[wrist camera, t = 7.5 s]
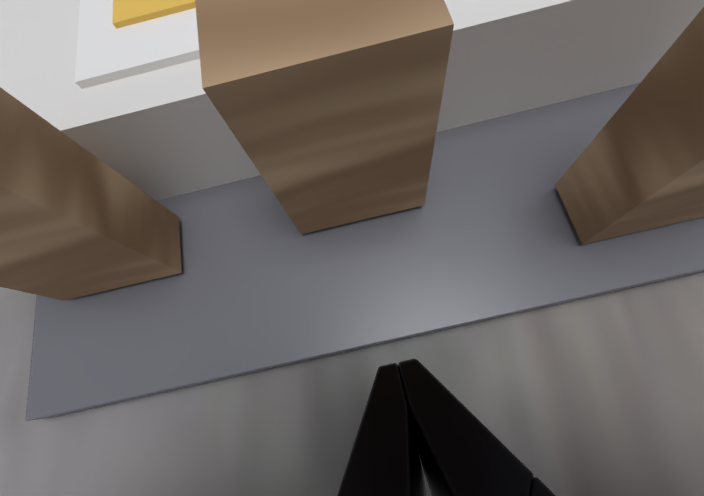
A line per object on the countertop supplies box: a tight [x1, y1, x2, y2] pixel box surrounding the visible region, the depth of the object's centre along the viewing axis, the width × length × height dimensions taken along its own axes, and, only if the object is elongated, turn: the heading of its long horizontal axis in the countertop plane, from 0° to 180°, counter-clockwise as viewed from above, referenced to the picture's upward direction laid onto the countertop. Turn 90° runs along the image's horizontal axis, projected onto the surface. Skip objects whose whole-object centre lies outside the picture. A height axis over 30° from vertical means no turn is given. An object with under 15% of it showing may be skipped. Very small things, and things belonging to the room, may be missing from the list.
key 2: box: [0, 87, 182, 301], centre depth 12 cm, size 2×5×8 cm, turn 102°
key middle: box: [195, 0, 454, 234], centre depth 11 cm, size 2×5×8 cm, turn 102°
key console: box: [0, 0, 704, 421], centre depth 14 cm, size 18×28×6 cm, turn 102°
